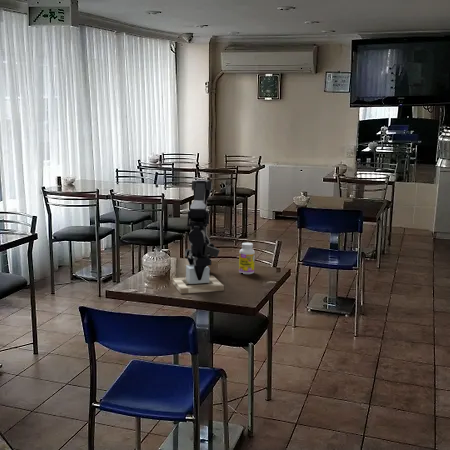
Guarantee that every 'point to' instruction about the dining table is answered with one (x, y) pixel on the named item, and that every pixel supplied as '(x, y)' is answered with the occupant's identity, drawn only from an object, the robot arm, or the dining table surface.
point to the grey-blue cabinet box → (192, 277)
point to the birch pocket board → (212, 286)
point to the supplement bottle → (246, 259)
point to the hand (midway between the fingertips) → (197, 278)
